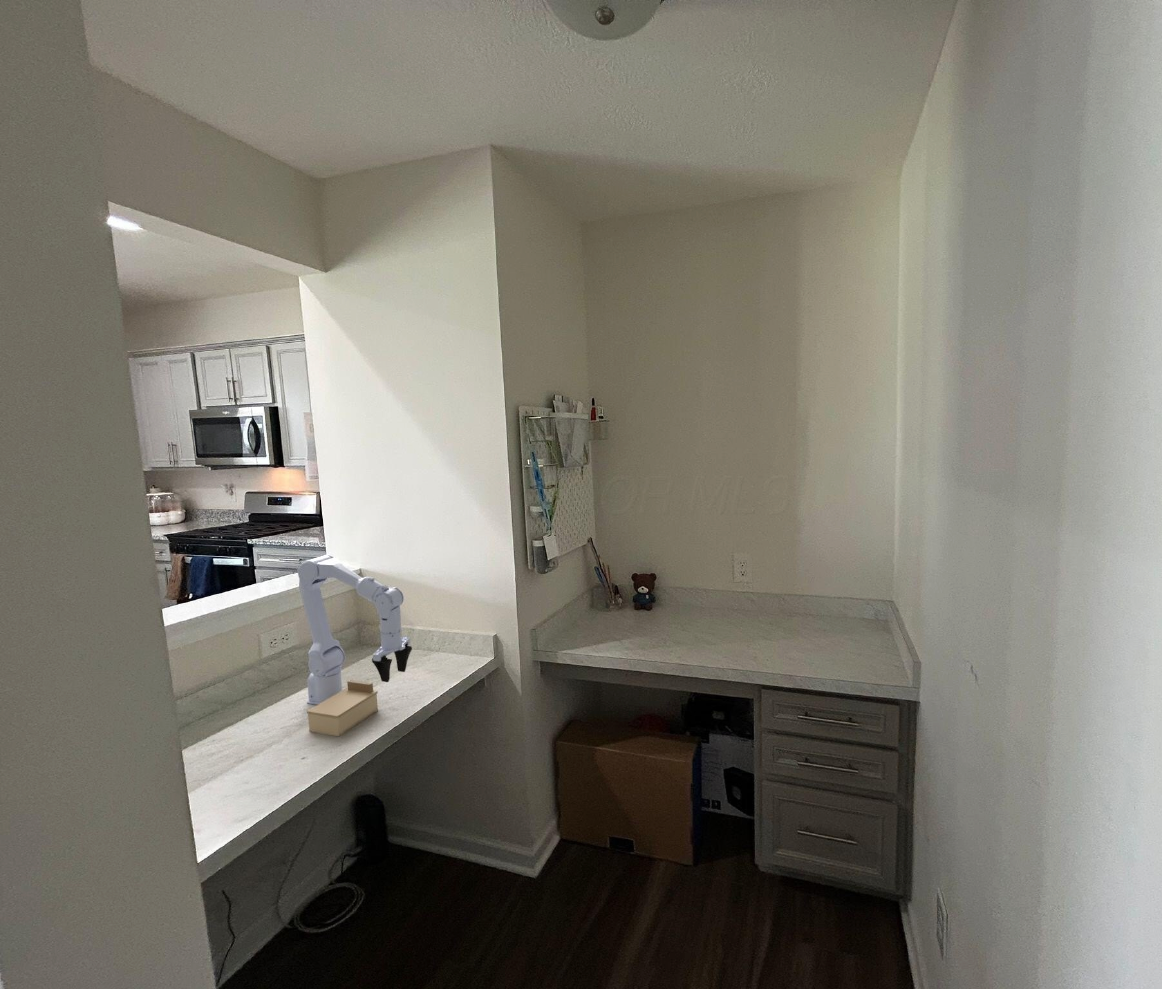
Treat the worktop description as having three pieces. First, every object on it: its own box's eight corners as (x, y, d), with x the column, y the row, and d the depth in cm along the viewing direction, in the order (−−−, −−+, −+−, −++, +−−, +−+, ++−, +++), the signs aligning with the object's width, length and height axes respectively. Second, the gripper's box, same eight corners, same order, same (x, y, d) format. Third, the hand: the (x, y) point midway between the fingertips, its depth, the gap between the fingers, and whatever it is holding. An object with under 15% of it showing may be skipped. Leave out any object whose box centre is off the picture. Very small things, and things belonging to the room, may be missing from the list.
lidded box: (349, 706, 185) (348, 689, 185) (377, 710, 182) (376, 693, 181) (309, 731, 170) (307, 713, 170) (339, 736, 167) (337, 718, 166)
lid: (348, 688, 185) (347, 679, 185) (377, 692, 181) (376, 683, 181) (306, 713, 170) (305, 702, 169) (337, 718, 166) (336, 707, 166)
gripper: (386, 640, 173) (389, 687, 174) (417, 624, 186) (420, 668, 188) (365, 638, 175) (368, 684, 177) (397, 622, 189) (400, 665, 190)
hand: (393, 676), depth 182 cm, fingers open, 7 cm apart
